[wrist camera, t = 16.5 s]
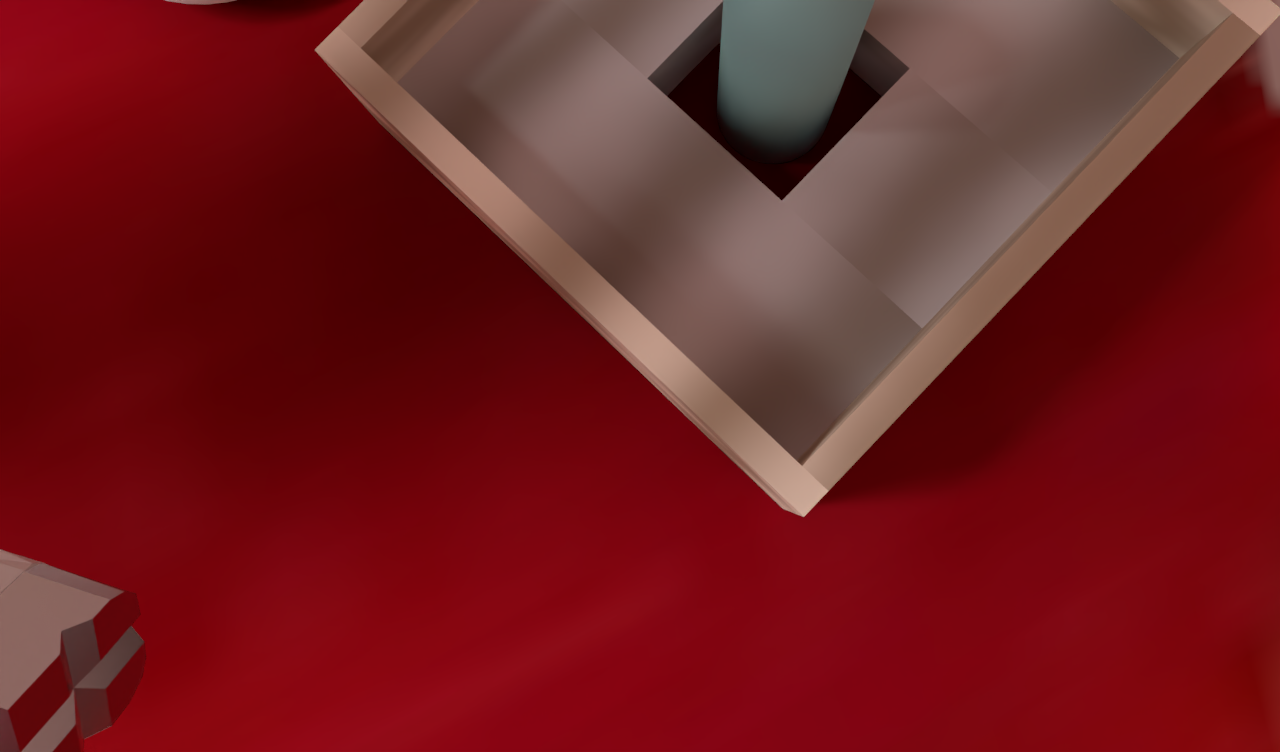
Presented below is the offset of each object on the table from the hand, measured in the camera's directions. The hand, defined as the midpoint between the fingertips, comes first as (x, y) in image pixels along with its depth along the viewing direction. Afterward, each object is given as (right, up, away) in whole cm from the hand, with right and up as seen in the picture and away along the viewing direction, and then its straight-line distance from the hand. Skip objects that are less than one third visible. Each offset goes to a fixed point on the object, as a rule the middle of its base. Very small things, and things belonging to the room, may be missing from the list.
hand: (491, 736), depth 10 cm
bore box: (+6, +13, +24) cm, 28 cm away
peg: (+6, +13, +24) cm, 28 cm away
